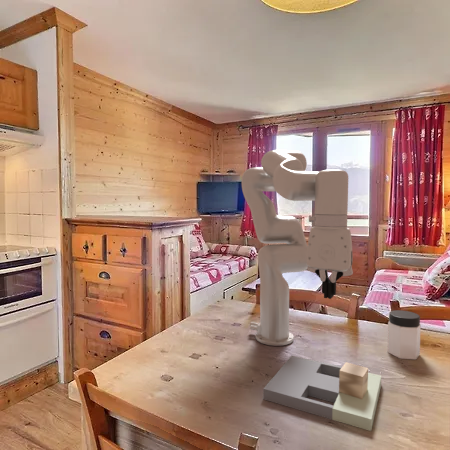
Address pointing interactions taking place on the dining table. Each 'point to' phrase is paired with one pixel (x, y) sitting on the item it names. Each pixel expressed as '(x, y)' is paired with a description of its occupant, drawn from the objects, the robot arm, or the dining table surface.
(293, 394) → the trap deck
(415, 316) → the jar
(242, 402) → the dining table surface
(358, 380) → the birch block
